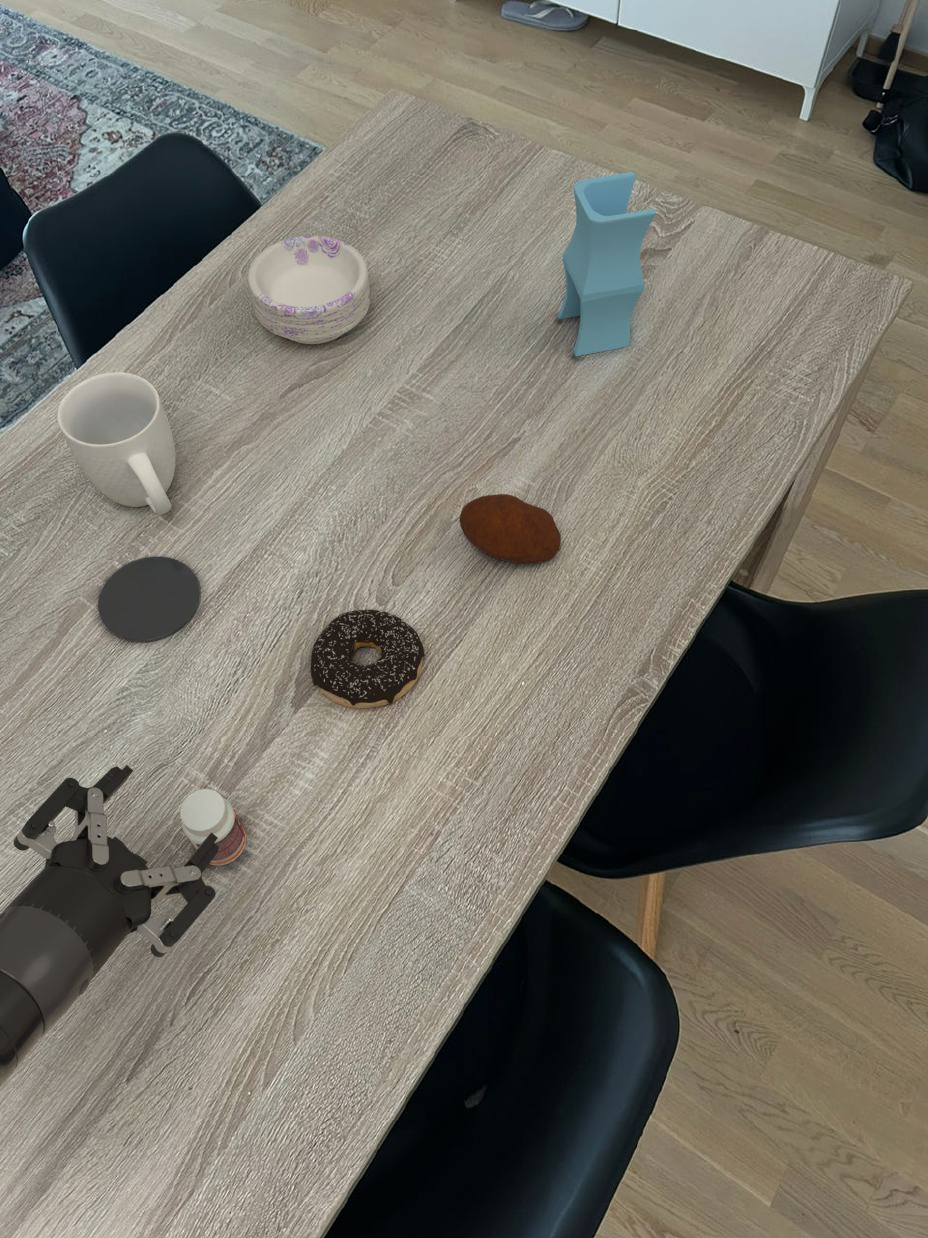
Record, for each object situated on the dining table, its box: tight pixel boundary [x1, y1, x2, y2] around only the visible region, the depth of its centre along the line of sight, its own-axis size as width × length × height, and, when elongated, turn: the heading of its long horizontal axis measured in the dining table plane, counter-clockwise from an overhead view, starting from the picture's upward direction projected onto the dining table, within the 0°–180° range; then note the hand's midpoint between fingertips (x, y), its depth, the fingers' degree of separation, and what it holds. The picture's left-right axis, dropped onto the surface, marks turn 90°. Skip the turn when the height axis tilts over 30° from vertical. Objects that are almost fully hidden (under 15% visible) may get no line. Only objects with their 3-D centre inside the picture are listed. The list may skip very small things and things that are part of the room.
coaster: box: [97, 556, 201, 643], centre depth 114 cm, size 11×11×1 cm
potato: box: [458, 493, 562, 565], centre depth 114 cm, size 8×12×8 cm, turn 78°
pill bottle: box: [179, 788, 247, 866], centre depth 96 cm, size 5×5×8 cm
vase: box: [557, 171, 657, 357], centre depth 128 cm, size 8×8×20 cm
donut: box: [310, 609, 426, 710], centre depth 108 cm, size 11×12×4 cm
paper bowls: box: [247, 235, 371, 345], centre depth 134 cm, size 15×15×8 cm
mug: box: [56, 371, 177, 516], centre depth 116 cm, size 15×11×13 cm
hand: (168, 807), depth 83 cm, fingers open, 8 cm apart
